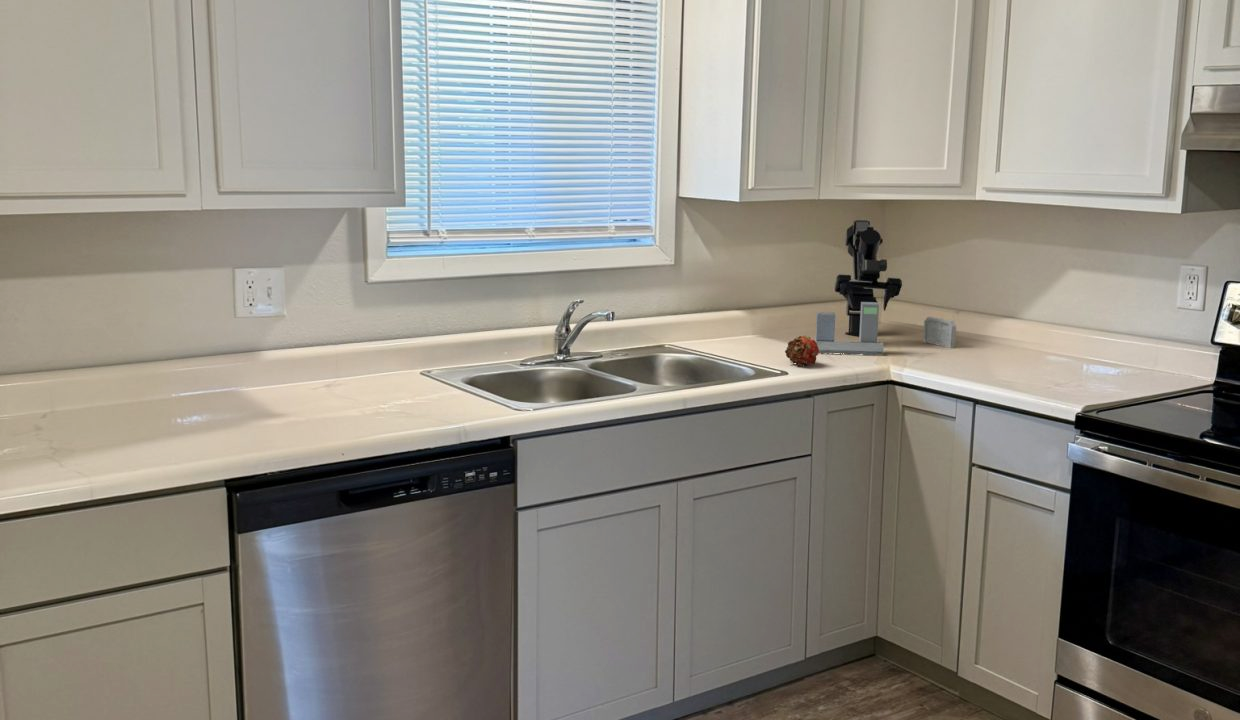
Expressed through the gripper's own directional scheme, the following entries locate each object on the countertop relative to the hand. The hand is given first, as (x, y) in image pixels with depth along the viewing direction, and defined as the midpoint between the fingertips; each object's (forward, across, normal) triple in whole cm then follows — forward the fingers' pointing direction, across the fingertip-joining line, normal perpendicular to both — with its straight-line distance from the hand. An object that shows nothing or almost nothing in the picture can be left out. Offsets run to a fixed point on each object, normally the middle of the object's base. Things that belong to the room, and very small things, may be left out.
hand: (868, 308), depth 318 cm
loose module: (+13, -1, +1) cm, 13 cm away
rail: (+14, -6, +2) cm, 16 cm away
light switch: (+2, +23, +13) cm, 27 cm away
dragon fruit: (+28, -21, -12) cm, 37 cm away
